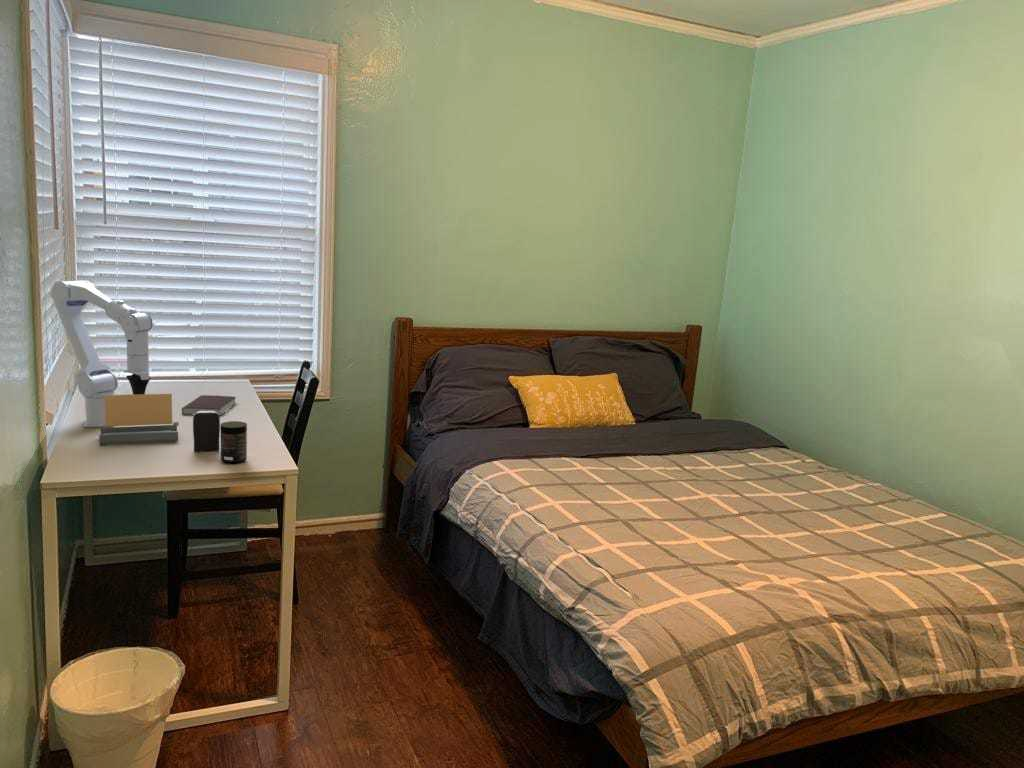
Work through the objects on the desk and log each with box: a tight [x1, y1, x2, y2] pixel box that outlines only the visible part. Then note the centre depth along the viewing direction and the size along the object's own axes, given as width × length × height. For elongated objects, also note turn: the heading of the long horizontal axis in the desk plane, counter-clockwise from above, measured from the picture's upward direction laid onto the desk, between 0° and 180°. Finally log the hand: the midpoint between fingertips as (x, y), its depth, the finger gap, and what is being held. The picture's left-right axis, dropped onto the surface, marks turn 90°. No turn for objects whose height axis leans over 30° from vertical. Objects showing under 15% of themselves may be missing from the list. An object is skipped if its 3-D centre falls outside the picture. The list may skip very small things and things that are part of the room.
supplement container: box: [220, 420, 248, 466], centre depth 207 cm, size 7×7×10 cm
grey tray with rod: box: [97, 421, 180, 447], centre depth 221 cm, size 9×21×4 cm, turn 115°
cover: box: [104, 393, 173, 428], centre depth 224 cm, size 9×18×1 cm
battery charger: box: [192, 411, 221, 453], centre depth 215 cm, size 7×4×11 cm, turn 111°
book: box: [181, 394, 237, 417], centre depth 261 cm, size 12×19×3 cm, turn 4°
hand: (138, 399), depth 227 cm, fingers closed
